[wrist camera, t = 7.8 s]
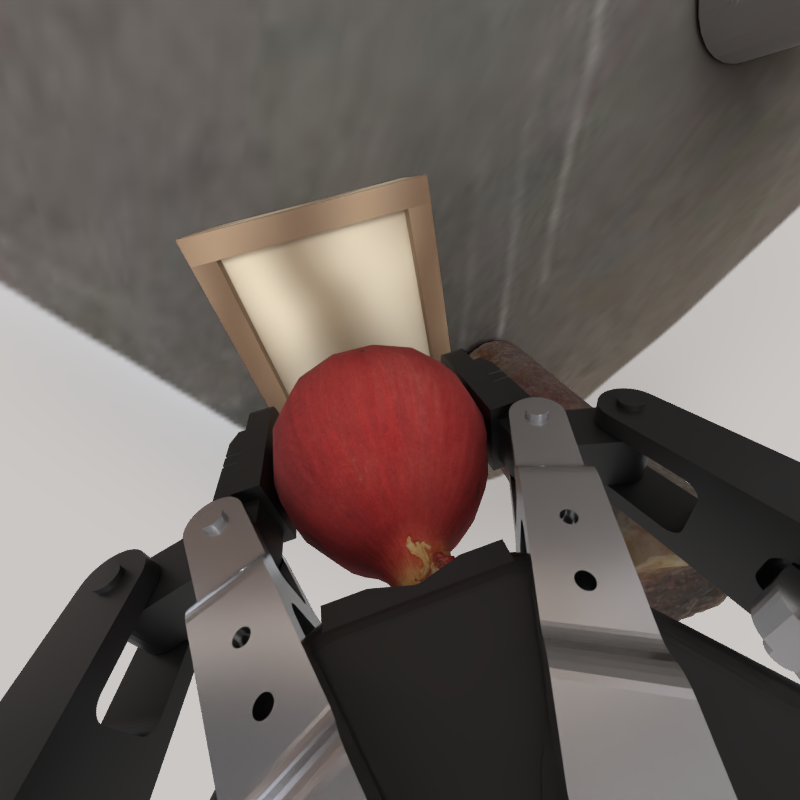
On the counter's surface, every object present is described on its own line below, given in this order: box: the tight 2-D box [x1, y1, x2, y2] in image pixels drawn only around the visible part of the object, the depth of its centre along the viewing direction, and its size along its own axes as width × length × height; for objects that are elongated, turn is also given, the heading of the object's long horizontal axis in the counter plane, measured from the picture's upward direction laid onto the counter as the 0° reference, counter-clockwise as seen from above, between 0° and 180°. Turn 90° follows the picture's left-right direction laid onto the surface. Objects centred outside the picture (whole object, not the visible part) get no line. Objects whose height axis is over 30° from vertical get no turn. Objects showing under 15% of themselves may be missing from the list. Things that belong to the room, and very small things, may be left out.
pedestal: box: [176, 174, 451, 414], centre depth 21 cm, size 12×12×6 cm
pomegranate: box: [273, 345, 488, 587], centre depth 9 cm, size 6×6×8 cm
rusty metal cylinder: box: [469, 340, 727, 621], centre depth 22 cm, size 8×7×20 cm
